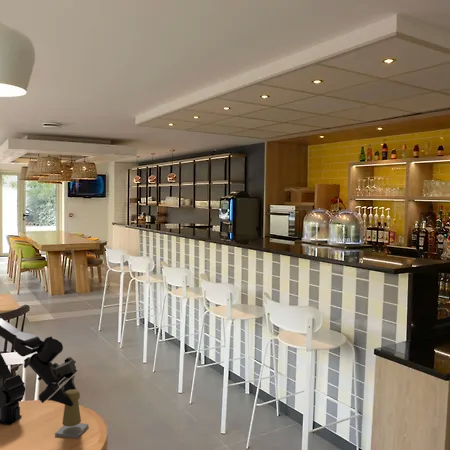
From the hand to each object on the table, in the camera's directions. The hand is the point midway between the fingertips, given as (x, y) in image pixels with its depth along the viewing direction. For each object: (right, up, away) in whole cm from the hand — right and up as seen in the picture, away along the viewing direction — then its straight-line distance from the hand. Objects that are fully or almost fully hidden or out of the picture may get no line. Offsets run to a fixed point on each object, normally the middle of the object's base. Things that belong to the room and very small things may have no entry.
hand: (75, 401), depth 156 cm
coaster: (-1, -10, +1) cm, 10 cm away
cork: (-2, -7, +1) cm, 7 cm away
